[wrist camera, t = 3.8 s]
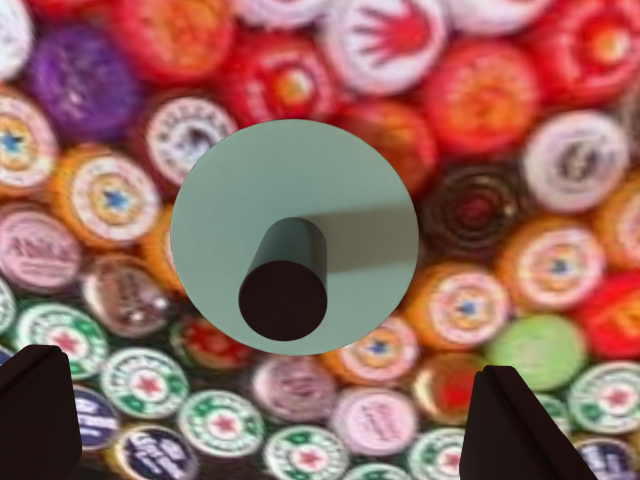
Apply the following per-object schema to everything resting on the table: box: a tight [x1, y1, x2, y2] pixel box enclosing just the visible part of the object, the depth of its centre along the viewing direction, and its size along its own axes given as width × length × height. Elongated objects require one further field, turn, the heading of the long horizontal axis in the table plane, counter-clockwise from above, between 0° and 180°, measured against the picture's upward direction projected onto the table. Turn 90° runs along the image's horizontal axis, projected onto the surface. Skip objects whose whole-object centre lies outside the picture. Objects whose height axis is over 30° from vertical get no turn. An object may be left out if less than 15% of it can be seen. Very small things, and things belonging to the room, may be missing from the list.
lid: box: [170, 119, 419, 355], centre depth 17 cm, size 11×11×7 cm
